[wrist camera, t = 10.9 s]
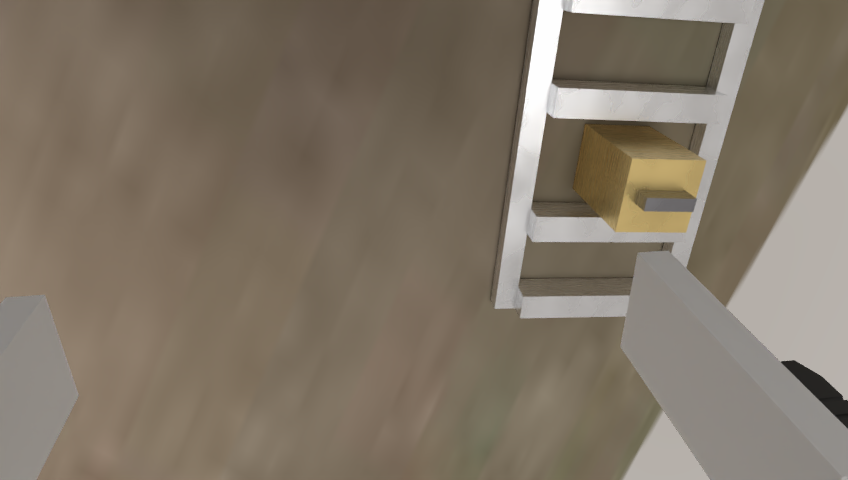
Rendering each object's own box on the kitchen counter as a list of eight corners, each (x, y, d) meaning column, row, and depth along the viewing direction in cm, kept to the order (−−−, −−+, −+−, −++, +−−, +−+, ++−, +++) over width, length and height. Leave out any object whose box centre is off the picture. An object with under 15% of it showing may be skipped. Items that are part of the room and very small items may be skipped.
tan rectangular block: (572, 188, 43) (624, 241, 35) (584, 123, 41) (642, 165, 33) (633, 189, 43) (696, 241, 36) (648, 126, 41) (718, 167, 34)
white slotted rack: (536, -27, 36) (550, -24, 34) (754, -10, 38) (780, -6, 36) (490, 299, 46) (499, 318, 43) (667, 297, 48) (684, 315, 46)
